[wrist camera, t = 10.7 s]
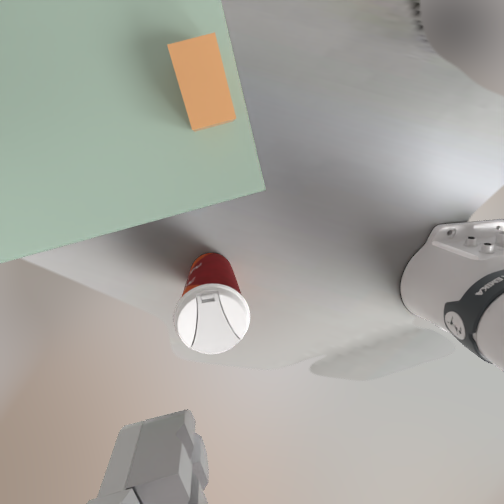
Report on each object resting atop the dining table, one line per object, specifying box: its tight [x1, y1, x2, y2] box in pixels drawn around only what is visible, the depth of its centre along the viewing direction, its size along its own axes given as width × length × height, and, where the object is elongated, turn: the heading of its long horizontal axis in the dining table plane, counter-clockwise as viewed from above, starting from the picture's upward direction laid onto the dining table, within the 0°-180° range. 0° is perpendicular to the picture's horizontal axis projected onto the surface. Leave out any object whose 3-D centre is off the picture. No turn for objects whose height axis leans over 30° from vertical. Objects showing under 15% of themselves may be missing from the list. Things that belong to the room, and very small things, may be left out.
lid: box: [0, 0, 266, 263], centre depth 23 cm, size 23×17×5 cm
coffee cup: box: [173, 253, 250, 354], centre depth 42 cm, size 8×8×15 cm
